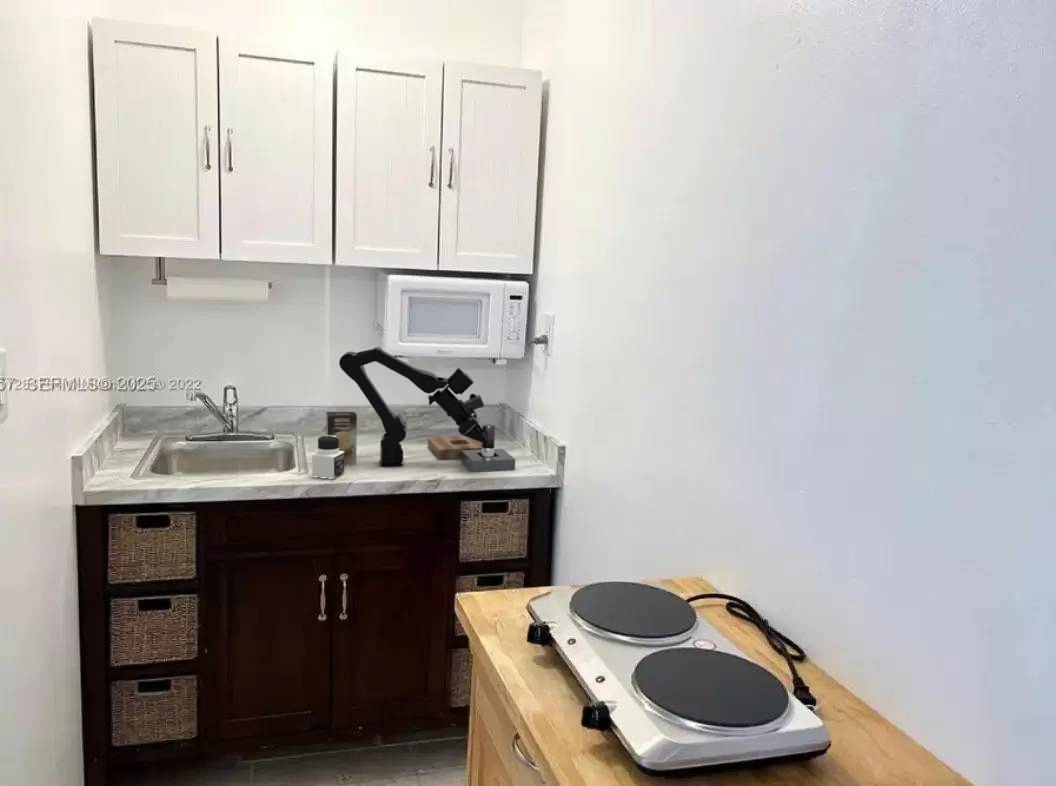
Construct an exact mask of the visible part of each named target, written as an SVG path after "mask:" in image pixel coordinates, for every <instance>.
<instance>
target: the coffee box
mask: <svg viewBox="0 0 1056 786" xmlns="http://www.w3.org/2000/svg"><path fill="white" fill-rule="evenodd" d="M325 415H326V416H325V417H326V418H325V419H326V421H325V429H326V430H325V436H326V435H332V436H336V437H338V438H339V450H338V451H344V466H351V465H350V464H356V465H357V430H358V429H357V428H358V427H357V426H358V423H357V422H358V420H357V419H358V418H357V417H358V415H357V413H356V412H355V411H326V414H325ZM347 464H349V465H347Z"/></svg>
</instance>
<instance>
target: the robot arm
mask: <svg viewBox="0 0 1056 786" xmlns="http://www.w3.org/2000/svg"><path fill="white" fill-rule="evenodd" d="M374 362H376V363H378V364H380V365H382V366H384V367H386V368H387V369H389V370H391V371H393V372H395V373H397V374H398V375H401V376H402V377H404V378H406V379H408V380H409V381H410V382H411V383H412V384H414V385H415V386H416V387H417V388H418V389H419V390H421V391H422V392H424V393H425V394H429V395H428V396H427V397H428V405H429V406H431V405H433V403H434V402H435V403H436V404H437V405H438V406H439V407H440V408H441V409H442V410H443V411H444V412H445V413H446V415H447V417H450V418H451V419H452V420H453V421H454V422H455V424H456V425H457V427H458V431H457V432H458V433H459V434H460V436H466V437H469V438H472V439H474V440H477V441H479V442H482V443H486V442H487V440H486V439H485V437H484V436H483V434H482V428H483V427H482V426H481V425H480V423H479V421H478V420H477V418H478V417H477V412H476V410H477V409H481V408H484V406H485V403H484V401H483V399H482V396H481V394H476V393H474V392H473V393H471V394H469V399H467V400H465V401H463V399H459V398H458V397H457V396H456V395H461V396H462V395H463V394H464V393H465V392H466V391H467V390H468V389H469V388H470V387H471V386H472V385H473V384H474V383H475V381H474V380H473V379H472V378H471V376H470V375H468V373H466V372H464V371H463V370H462V369H461V368H460V367H457V368H456V369H455V370H454V372H453V373H452V374H451V375H450V376H449V377H447V378H446V377H440V376H437V375H436V374H435V373H433V372H430V371H427V370H425V369H420V368H417V367H414V366H412V365H411V364H409V363H406V362H405V361H403V360H401V359H399V358H397V357H395V356H394V355H392V354H390V353H388V352H386V351H385V350H383V349H382V348H381V347H376V346H375V347H373V348H371V349H370V348H369V349H367V350H362V351H358V352H355V351H352V350H351V351H347V352H345V353H344V354H343V355H342V356H341V357H340V358H339V363H338V364H339V367H340V369H341V370H342V372H344V373H345V374H346V375H347V376H348V377H349V378H350V380H352V381H354V382H355V383H356V384H357V386H358V388H359V389H360V391H361V392H362V393H363V395H364V397H366V399H367V400H368V402H369V404H370V405H371V407H372V409H373V410H374V411H375V413H376V414H377V416H378V417H379V418H380V421H381V423H382V425H383V429H384V431H385V432H384V434H382V437H381V439H380V444H379V447H380V448H379V450H380V451H379V453H380V454H379V461H378V462H379V464H380V466H381V467H400V466H401V467H402V466H403V462H404V450H403V448H402V445H401V442H403V441H404V440H405V439H406V437H407V432H408V427H407V423H408V422H407V421H405V420H404V419H403V416H402V414H401V413H400V412H399V413H398V414H395V413H394V412H393V411H392V410H391V409H390V407H389V406H388V404H387V402H386V401H385V399H384V398H383V396H382V395H381V394H380V392H379V391H378V389H377V388H376V386H375V385H374V383H373V382H372V380H371V379H370V377H369V376H368V374H367V371H366V368H365V366H366V365H368V364H371V363H374ZM431 394H432V395H431Z"/></svg>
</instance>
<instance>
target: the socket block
mask: <svg viewBox="0 0 1056 786" xmlns="http://www.w3.org/2000/svg"><path fill="white" fill-rule="evenodd" d="M460 461H461V462H462V463H463V464H464V465H465V466H466V467H467V468H468V470H469V469H470V470H469V471H470V472H471V473H481V472H482V473H483V472H500V471H501V470H504V471H515V470H516V459H515V458H514V456H512V455H511V454H510V453H508V452H507V451H506V450H505V449H504V448H494V457H482V449H481V450H461V459H460Z"/></svg>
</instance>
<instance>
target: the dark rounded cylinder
mask: <svg viewBox="0 0 1056 786" xmlns="http://www.w3.org/2000/svg"><path fill="white" fill-rule="evenodd" d="M481 428H482V434H483V436H484V437H485V439H486V440H487V442H486V443H482V457H494V449H495V440H496V425H494V424H483V425H482V427H481Z"/></svg>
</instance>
